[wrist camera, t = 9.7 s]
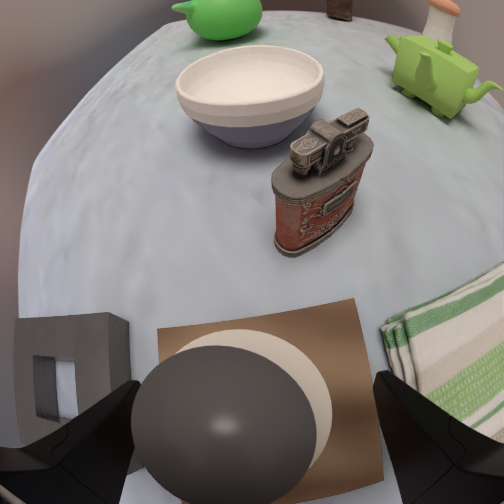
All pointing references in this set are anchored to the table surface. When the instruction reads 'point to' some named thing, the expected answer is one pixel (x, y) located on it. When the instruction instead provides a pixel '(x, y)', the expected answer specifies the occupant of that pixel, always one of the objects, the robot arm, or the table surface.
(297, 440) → the white bottle
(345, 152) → the lighter
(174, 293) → the table surface
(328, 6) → the candle
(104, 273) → the table surface
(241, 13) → the toy bird
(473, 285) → the dish towel
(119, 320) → the housing
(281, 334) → the board
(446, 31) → the pepper shaker
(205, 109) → the bowl
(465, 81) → the kettle
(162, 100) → the table surface
